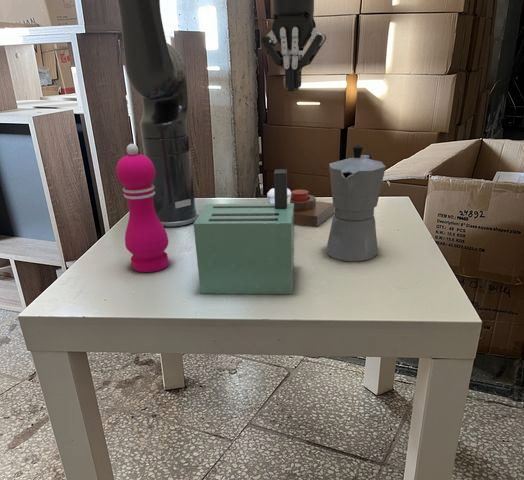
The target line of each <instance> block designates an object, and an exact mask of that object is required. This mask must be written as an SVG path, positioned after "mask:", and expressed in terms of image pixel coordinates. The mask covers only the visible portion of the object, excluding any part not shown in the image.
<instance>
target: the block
mask: <svg viewBox="0 0 524 480" xmlns="http://www.w3.org/2000/svg"><path fill="white" fill-rule="evenodd" d="M291 203H294V225H299V226H305V227H315V228H318V227H319V226H320V225H322V224H323V223H324V222H326V221H327V220H328V219H329V218H331V216H332V217H333V216H334V212H335V207H334V205H333V202H325V201H324V202H323V201H317V198H316V196H315V195H312V194H309V195H308V200H305V201H293V200H291Z"/></svg>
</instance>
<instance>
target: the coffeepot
mask: <svg viewBox="0 0 524 480" xmlns="http://www.w3.org/2000/svg"><path fill="white" fill-rule="evenodd" d="M363 149H364V147H363V146H362V145H359V144H357V145H354V146H352V150H353V151H352V153H353V157H349V158H345V159H342V160H337V161H333V162H330V163H328V167H329V179H330V187H331V196H332V197H331V198H332V203H333V205H334V207H335V208H334V214H333V215H332V219H331V226H330V229H329V235H328V239H327V244H326V252H327V255H328V256H329V257H331V258H332V259H334V260H338V261H342V262H356V263H357V262H365V261H368V260H371V259H373V258H375V257H376V256H377V255H378V254H379V249H378V239H377V227H376V218H375V208H376V207H377V206H378V203H379V198H380V194H381V191H382V190H381V189H382V186H383V181H384V176H385V171H386V167H387V166H386V165H385V164H384V163H383V162H382V161H380V160H375V159H373V156H372V154H371V153H370V152H365V153H363Z"/></svg>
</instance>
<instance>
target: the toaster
mask: <svg viewBox="0 0 524 480" xmlns="http://www.w3.org/2000/svg"><path fill="white" fill-rule="evenodd" d="M192 225H193V232H194V233H193V234H194V242H195V252H196V261H197V262H196V263H197V271H198V280H199V290H200V294H204V295H205V294H207V295H208V294H211V295H213V294H217V295H223V294H227V295H230V294H231V295H232V294H233V295H234V294H235V295H293V285H294V275H295V224H294V203H287V208H275V203H268V202H265V203H257V202H256V203H205V205H204V206H203V208H202V210H201V211H200V212H199V214H198V215H197V219H196V220H195V222H193V224H192Z"/></svg>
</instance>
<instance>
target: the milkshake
mask: <svg viewBox="0 0 524 480" xmlns="http://www.w3.org/2000/svg"><path fill="white" fill-rule="evenodd" d="M291 192H292V190H291V189H290V188H288V187H287V203H291ZM266 196H267V203H275V195H274V187H272V188H271V189H269V191H268V192H267V193H266Z"/></svg>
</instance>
